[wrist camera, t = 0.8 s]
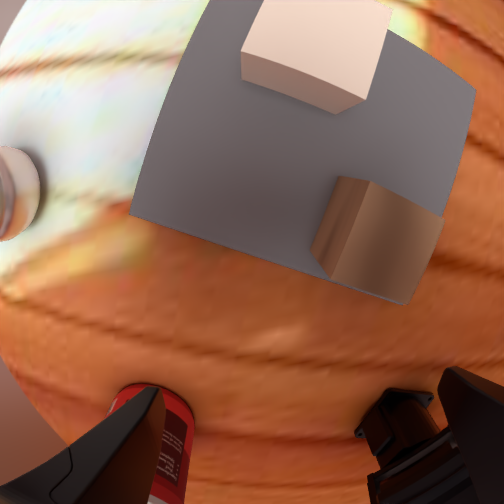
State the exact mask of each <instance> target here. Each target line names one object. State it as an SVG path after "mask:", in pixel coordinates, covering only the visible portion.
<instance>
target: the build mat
mask: <svg viewBox="0 0 504 504" xmlns="http://www.w3.org/2000/svg"><path fill="white" fill-rule="evenodd" d="M263 1H264V0H210V1H209V3H208V5H207V7H206V9H205V10H204V12H203V14H202V16H201V18H200V20H199V22H198V24H197V26H196V28H195V30H194V33H193V35H192V37H191V39H190V41H189V43H188V45H187V48H186V50H185V52H184V54H183V56H182V59H181V61H180V63H179V66H178V68H177V70H176V73H175V75H174V78H173V80H172V82H171V85H170V87H169V90H168V93H167V95H166V98H165V100H164V103H163V106H162V108H161V111H160V114H159V116H158V119H157V122H156V125H155V128H154V131H153V134H152V137H151V140H150V143H149V146H148V149H147V152H146V155H145V158H144V162H143V165H142V168H141V172H140V175H139V178H138V182H137V185H136V189H135V193H134V196H133V200H132V204H131V208H130V212H129V215H132V216H135V217H138V218H141V219H144V220H147V221H150V222H153V223H156V224H159V225H162V226H165V227H168V228H171V229H174V230H177V231H180V232H183V233H186V234H189V235H192V236H195V237H198V238H201V239H204V240H207V241H210V242H213V243H216V244H219V245H222V246H225V247H228V248H231V249H234V250H237V251H240V252H243V253H246V254H249V255H252V256H255V257H258V258H261V259H264V260H267V261H270V262H273V263H276V264H279V265H282V266H285V267H288V268H291V269H294V270H297V271H300V272H303V273H306V274H309V275H312V276H315V277H318V278H321V279H324V280H327V281H330V282H333V283H336V284H339V285H342V286H345V287H348V288H351V289H354V290H357V291H360V292H364V293H367V294H370V295H373V296H376V297H379V298H382V299H385V300H388V301H391V302H394V303H397V304H400V305H403V303H400V302H397V301H394V300H391V299H388V298H385V297H382V296H379V295H376V294H373V293H370V292H367V291H364V290H361V289H358V288H355V287H352V286H349V285H346V284H343V283H340V282H337V281H334V280H331V279H330V278H329V277H328V275H327V274H326V272H325V271H324V270H323V268H322V267H321V265H320V264H319V263H318V261H317V260H316V259H315V257H314V256H313V254H312V253H311V252H310V248H311V246H312V243H313V241H314V238H315V236H316V233H317V231H318V228H319V226H320V223H321V221H322V218H323V216H324V213H325V210H326V208H327V205H328V203H329V200H330V198H331V195H332V192H333V190H334V187H335V184H336V182H337V179H338V176H344V177H350V178H356V179H362V180H368V181H372V182H374V183H376V184H378V185H380V186H382V187H384V188H386V189H388V190H390V191H392V192H394V193H396V194H398V195H400V196H402V197H404V198H406V199H408V200H410V201H412V202H414V203H415V204H417V205H419V206H421V207H423V208H425V209H427V210H428V211H430V212H432V213H434V214H436V215H437V216H439V217H442V215H443V212H444V209H445V206H446V203H447V201H448V198H449V195H450V192H451V189H452V186H453V183H454V179H455V176H456V173H457V170H458V166H459V163H460V159H461V156H462V152H463V148H464V144H465V141H466V137H467V132H468V128H469V124H470V119H471V115H472V110H473V105H474V100H475V94H476V89H475V88H474V87H472V86H471V85H470V84H469V83H467V82H466V81H465V80H464V79H462V78H461V77H460V76H458V75H457V74H456V73H455V72H453V71H452V70H451V69H449V68H448V67H446V66H445V65H444V64H442V63H441V62H439V61H438V60H437V59H435V58H434V57H432V56H431V55H429V54H428V53H426V52H425V51H423V50H422V49H420V48H418V47H417V46H415V45H414V44H412V43H410V42H409V41H407V40H405V39H404V38H402V37H400V36H399V35H397V34H395V33H393V32H392V31H390V30H388V29H387V33H386V36H385V40H384V43H383V46H382V50H381V53H380V57H379V60H378V63H377V66H376V70H375V73H374V76H373V79H372V82H371V85H370V89H369V92H368V95H367V98H366V100H365V101H363V102H361V103H358V104H356V105H354V106H352V107H350V108H348V109H346V110H344V111H342V112H340V113H338V114H336V115H335V114H332V113H330V112H328V111H325V110H323V109H321V108H318V107H316V106H314V105H311V104H309V103H306V102H304V101H301V100H299V99H296V98H293V97H291V96H288V95H285V94H283V93H280V92H277V91H274V90H272V89H269V88H266V87H263V86H260V85H257V84H254V83H251V82H248V81H244V80H242V79H241V49H242V47H243V44H244V42H245V40H246V38H247V35H248V33H249V31H250V29H251V27H252V24H253V22H254V20H255V18H256V16H257V14H258V12H259V10H260V7H261V5H262V3H263Z"/></svg>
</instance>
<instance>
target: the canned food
mask: <svg viewBox="0 0 504 504" xmlns="http://www.w3.org/2000/svg"><path fill="white" fill-rule="evenodd" d="M146 386H154V385H148V384H135V385H131V386H128V387H126V388H124V389H123V390H122V391H121V392H120V393H119V394H118V395H116V396H115V398H114V400H113V402H112V404H111V406H110V408H109V410H108V413H107V415H106V417H105V418H107V417H108V416H109V415H110V414H112V413H113V412H114V411H116V410H117V409H118V408H119V407H121V406H122V405H123V404H125V403H126V402H127V401H128V400H130V399H131V398H132V397H133V396H135V395H136V394H137V393H139V392H140V391H141V390H142V389H144V388H145V387H146ZM156 387H158V386H156ZM160 388H161V387H160ZM161 390H162V393H163V397H164V402H165V406H166V416H165V423H164V430H163V437H162V444H161V452H160V457H159V461H158V465H157V469H156V473H155V476H154V480H153V484H152V488H151V492H150V495H149V499H148V503H147V504H184V498H185V491H186V484H187V476H188V469H189V462H190V455H191V449H192V442H193V435H194V429H195V425H194V420H193V415H192V413H191V410H190V409H189V407H188V406H187V404H186V403H185V402H184V401H183V400H182V399H181V398H179V397H178V396H176V395H175V394H174V393H172V392H170V391H168V390H166V389H163V388H161Z"/></svg>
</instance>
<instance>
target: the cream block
mask: <svg viewBox="0 0 504 504" xmlns="http://www.w3.org/2000/svg"><path fill="white" fill-rule="evenodd" d="M392 11H393V10H392V9H391V8H389V7H387V6H385V5H383V4H381V3H379V2H377V1H375V0H264V1H263V3H262V5H261V7H260V10H259V12H258V14H257V16H256V18H255V20H254V22H253V24H252V27H251V29H250V31H249V33H248V35H247V38H246V40H245V42H244V44H243V47H242V49H241V79H242V80H244V81H248V82H251V83H254V84H257V85H260V86H263V87H266V88H269V89H272V90H274V91H277V92H280V93H283V94H285V95H288V96H291V97H293V98H296V99H299V100H301V101H304V102H306V103H309V104H311V105H314V106H316V107H318V108H321V109H323V110H325V111H328V112H330V113H332V114H335V115H336V114H338V113H340V112H342V111H344V110H346V109H348V108H350V107H352V106H354V105H356V104H358V103H361V102H363V101H365V100H366V98H367V95H368V92H369V89H370V85H371V82H372V79H373V76H374V73H375V70H376V66H377V63H378V60H379V57H380V53H381V50H382V46H383V43H384V40H385V36H386V33H387V29H388V25H389V22H390V18H391V15H392Z"/></svg>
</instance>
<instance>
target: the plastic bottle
mask: <svg viewBox="0 0 504 504" xmlns="http://www.w3.org/2000/svg"><path fill="white" fill-rule="evenodd" d="M39 200H40V180H39V175H38V173H37V170H36V168H35V166H34V164H33V162H32V161H31V159H30V158H29V156H28V155H27V154H26V153H24V152H23V151H21V150H19V149H15V148H12V147H8V146H0V242H2V241H7V240H10V239H12V238H14V237H16V236H17V235H18V234H20V233H21V232H22V231H24V230H25V229H26V228H27V227H28V226H29V225H30V223H31V222H32V220H33V218H34V216H35V214H36V211H37V208H38V205H39Z"/></svg>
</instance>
